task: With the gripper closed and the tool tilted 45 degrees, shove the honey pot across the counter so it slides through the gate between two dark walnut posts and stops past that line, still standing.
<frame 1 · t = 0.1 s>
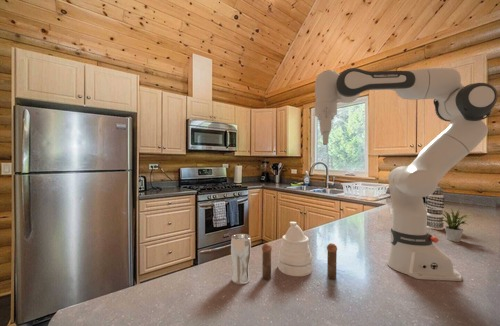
hand: (325, 144, 99), 48 cm above the countertop, tool pointing down, fingers open, 8 cm apart
post 1: (266, 277, 83), on the countertop
decorative candle: (434, 227, 145), on the countertop
beer glass: (240, 280, 81), on the countertop
house plant: (455, 241, 121), on the countertop
honey pot: (294, 268, 91), on the countertop
post 2: (331, 277, 83), on the countertop
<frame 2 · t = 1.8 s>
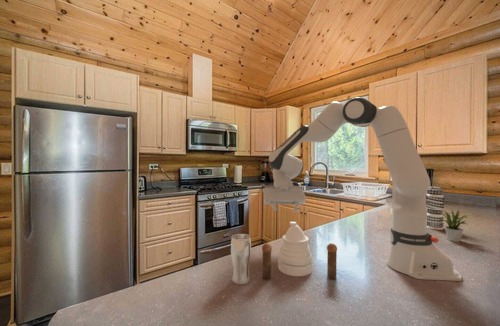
hand: (285, 211, 110), 18 cm above the countertop, tool tilted 45°, fingers open, 8 cm apart
nothing on the countertop moved.
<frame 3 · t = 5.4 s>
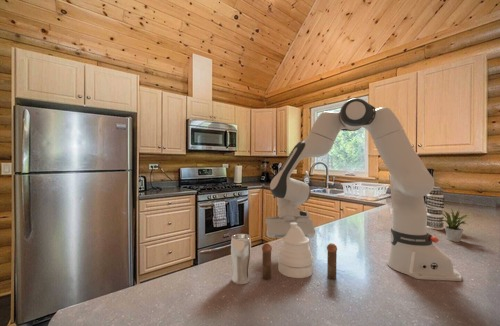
hand: (292, 246, 95), 6 cm above the countertop, tool tilted 45°, fingers closed, pressing on honey pot
honey pot: (295, 270, 89), on the countertop, touching gripper
everything else where it was.
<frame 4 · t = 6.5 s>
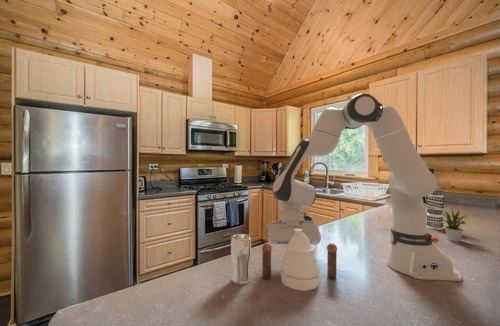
hand: (296, 254, 87), 6 cm above the countertop, tool tilted 45°, fingers closed, pressing on honey pot
honey pot: (299, 280, 81), on the countertop, touching gripper
everything else where it was.
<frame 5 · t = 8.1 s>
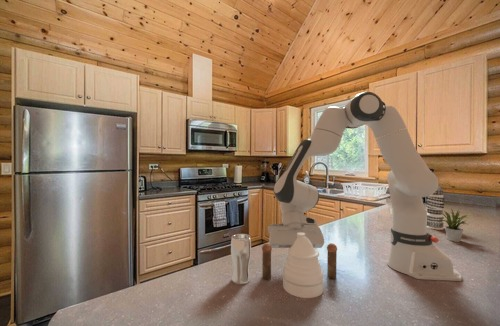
hand: (299, 258, 84), 6 cm above the countertop, tool tilted 45°, fingers closed
honey pot: (302, 287, 77), on the countertop
everything else where it was.
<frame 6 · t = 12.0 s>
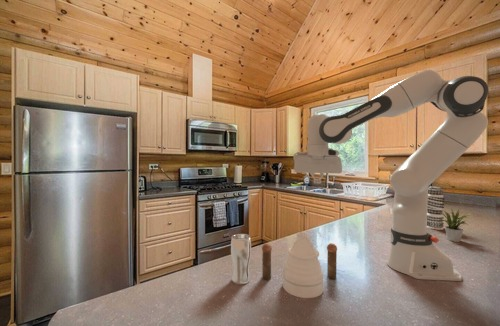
hand: (317, 183, 104), 31 cm above the countertop, tool pointing down, fingers closed
nothing on the countertop moved.
at the end: honey pot inside the target area (6.6 cm from its centre), on the countertop; honey pot tilted 0° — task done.
